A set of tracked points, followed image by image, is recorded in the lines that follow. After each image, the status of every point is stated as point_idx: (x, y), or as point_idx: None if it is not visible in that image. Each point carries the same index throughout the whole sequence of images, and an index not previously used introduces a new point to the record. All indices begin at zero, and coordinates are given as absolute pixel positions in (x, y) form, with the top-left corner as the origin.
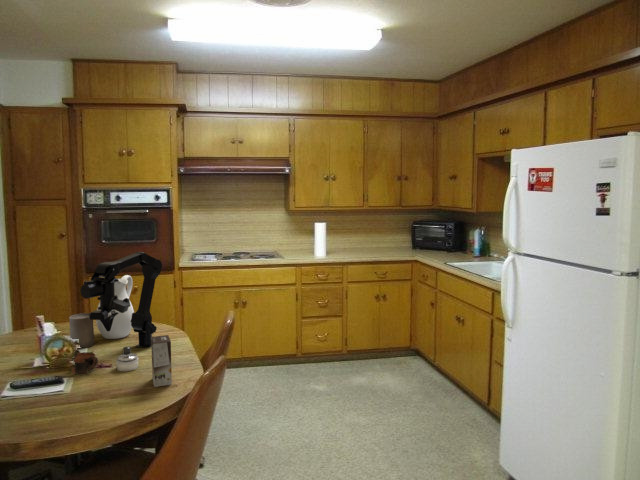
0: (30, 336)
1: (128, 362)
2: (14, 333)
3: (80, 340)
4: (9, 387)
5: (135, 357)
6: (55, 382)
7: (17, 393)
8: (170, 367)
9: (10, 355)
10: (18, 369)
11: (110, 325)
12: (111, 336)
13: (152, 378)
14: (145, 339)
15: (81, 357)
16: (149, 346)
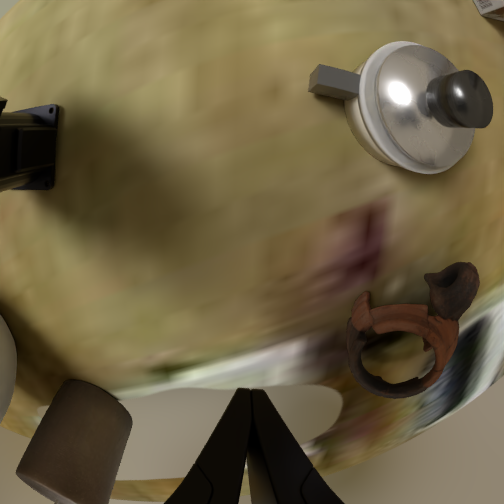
0: None
1: None
2: None
3: (118, 434)
4: (450, 412)
5: (440, 54)
6: (470, 342)
7: (489, 377)
8: None
9: None
10: (330, 463)
11: (262, 443)
12: (8, 340)
13: (485, 16)
14: (25, 126)
15: (454, 349)
16: (54, 104)
